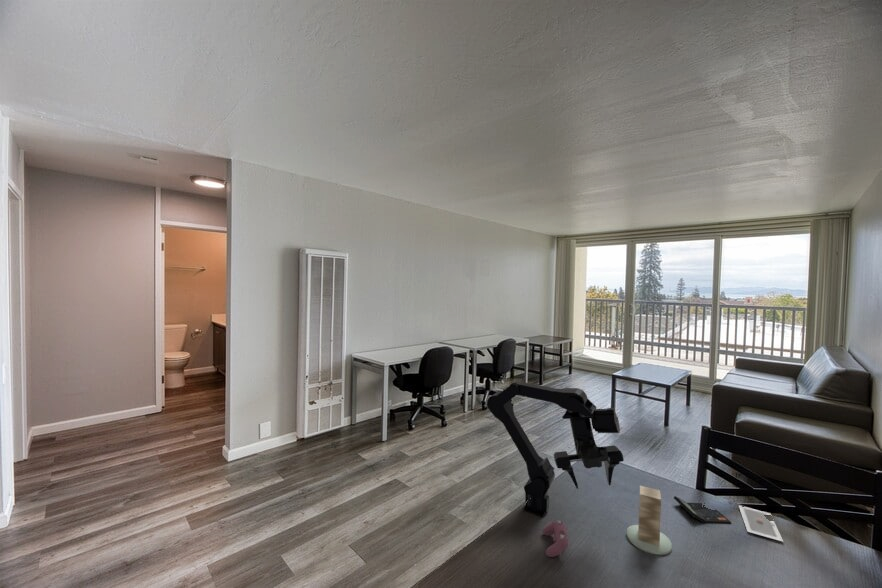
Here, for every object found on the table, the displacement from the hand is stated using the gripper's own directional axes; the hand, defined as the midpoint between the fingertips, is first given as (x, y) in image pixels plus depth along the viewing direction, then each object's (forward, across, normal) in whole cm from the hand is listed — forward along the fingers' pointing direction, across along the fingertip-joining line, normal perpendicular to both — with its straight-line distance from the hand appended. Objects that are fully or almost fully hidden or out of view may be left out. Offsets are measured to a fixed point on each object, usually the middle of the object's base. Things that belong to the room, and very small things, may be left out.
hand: (593, 486), depth 107 cm
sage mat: (+15, +12, -2) cm, 19 cm away
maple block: (+14, +12, -2) cm, 19 cm away
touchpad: (+22, +48, +12) cm, 54 cm away
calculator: (+19, +33, +15) cm, 41 cm away
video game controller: (+11, -14, -9) cm, 20 cm away
